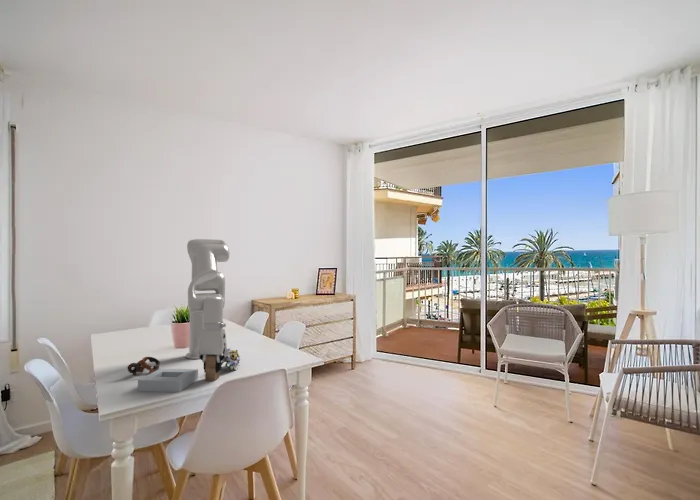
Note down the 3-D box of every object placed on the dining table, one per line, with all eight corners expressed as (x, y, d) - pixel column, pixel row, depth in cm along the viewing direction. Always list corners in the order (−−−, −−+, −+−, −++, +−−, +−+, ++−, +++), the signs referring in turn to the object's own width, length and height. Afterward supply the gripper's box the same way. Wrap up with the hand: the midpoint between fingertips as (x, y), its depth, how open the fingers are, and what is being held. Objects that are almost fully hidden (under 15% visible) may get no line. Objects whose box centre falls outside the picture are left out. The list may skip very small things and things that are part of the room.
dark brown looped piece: (147, 370, 155) (157, 354, 155) (156, 384, 150) (165, 368, 150) (119, 370, 145) (129, 354, 145) (127, 385, 140) (137, 368, 140)
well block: (160, 378, 143) (160, 368, 144) (197, 378, 143) (198, 369, 143) (137, 391, 130) (137, 380, 130) (179, 391, 129) (179, 380, 129)
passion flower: (234, 382, 154) (232, 365, 147) (211, 377, 155) (208, 359, 148) (245, 362, 163) (243, 344, 157) (223, 357, 164) (220, 340, 157)
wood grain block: (209, 377, 145) (210, 353, 145) (219, 377, 144) (219, 353, 145) (205, 380, 141) (205, 355, 141) (215, 381, 140) (215, 355, 141)
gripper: (236, 324, 146) (235, 368, 146) (197, 324, 147) (196, 368, 147) (229, 328, 139) (228, 374, 138) (188, 328, 140) (187, 374, 139)
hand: (212, 371), depth 143 cm, fingers closed on wood grain block, 4 cm apart
